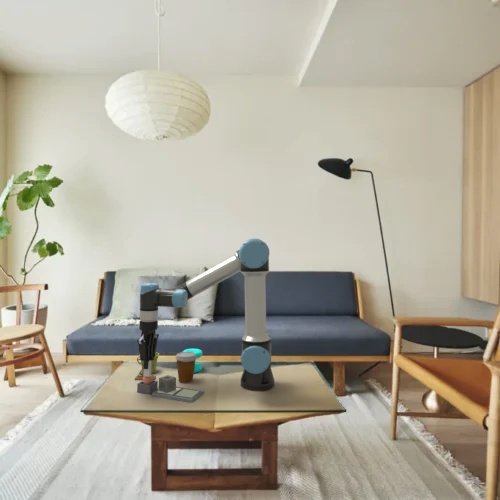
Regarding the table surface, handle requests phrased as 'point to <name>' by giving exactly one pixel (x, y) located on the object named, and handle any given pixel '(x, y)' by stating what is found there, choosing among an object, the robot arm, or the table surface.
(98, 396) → the table surface
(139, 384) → the button housing
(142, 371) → the plant pot
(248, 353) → the robot arm
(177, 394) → the picture board
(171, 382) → the dice cube
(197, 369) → the donuts
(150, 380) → the button
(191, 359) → the disposable coffee cup
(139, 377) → the brown scrollwork sculpture
